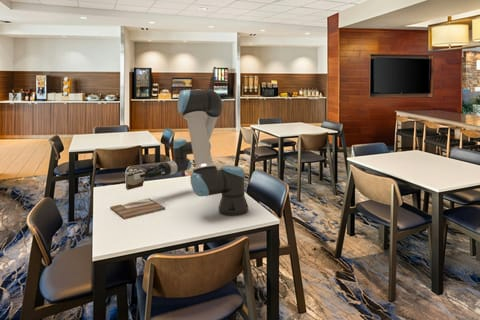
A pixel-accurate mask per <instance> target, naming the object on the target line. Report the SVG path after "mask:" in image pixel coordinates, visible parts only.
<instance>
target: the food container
mask: <svg viewBox="0 0 480 320" xmlns="http://www.w3.org/2000/svg"><path fill="white" fill-rule="evenodd" d="M145 171H146V169H144V168H143V167H140V166H139V167H138V166H132V167H128V168H126V170H125V171H124V177H125V189H126V190H127V191H129V190H134V189H137V188H140V187H141V188H142V187H143V185H144V183H145V178H146V177H145V178H141V179H136V180H134V176H133V175H134V174H139V173H143V172H145ZM145 174H146V173H145Z"/></svg>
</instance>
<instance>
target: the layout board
mask: <svg viewBox="0 0 480 320" xmlns="http://www.w3.org/2000/svg"><path fill="white" fill-rule="evenodd" d="M109 209H110V210H111V211H113V212H114V213H115V214H117V215H118V216H119V217H120V218H122V219H123V220H127V219H131V218H136V217H140V216H144V215H148V214H151V213H152V214H153V213H155V212H159V211H160V212H161V211H164V210H166V206H164V205H162V204H160V203H158V202H157V201H155V200H153V199H151V198H144V199H140V200H134V201H131V202H126V203H121V204H118V205H112V206H110V207H109Z"/></svg>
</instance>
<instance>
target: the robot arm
mask: <svg viewBox="0 0 480 320" xmlns="http://www.w3.org/2000/svg"><path fill="white" fill-rule="evenodd" d="M177 97H178V98H177V110H178V113H179V114H181V115H182V116H183V119H184V120H186V122H187V126H188V132H189V133H188V134H189V138H190V141H187V140H186V138H176V139H173V142H172V143H173V160H169V161H164V162H161V163H160V162H159V164H158V166H154V167H153V166H149V167H145V168H144V169H146V171H145V172H143V173H139V174H134V175H133V176H134V180H136V179H141V178H149V179H150V178H155V177H158V176H162V177H165V176H170V175H172V176H173V174H177V173H182V172H183V173H184V172H187V171H189V170H190V169H191V168H192V162H191V159H189V158H188V155H193V160H194V165H195V166H194V168H193V170H192V173H191V174H190V176H189V177H190V185H191V188H192V191H193V193H194V194H195V195H196V196H197V197H208V196H213V195H219V194H221V198H220V202H219V205H218V212H219V214H221V215H224V216H241V215H244V214H247V213H248V212H249V205H248V203H247V202H248V201H247V199H246V196H245V178H246V177H245V170H244V169H243V168H242V167H241V166H236V165H221V166H220V169H218V168H217V165H216V164H214V163H213V160H212V154H211V153H212V152H211V146H212V145H211V142H210V140H211V137H212V134H213V131H214V129H215V127H216V126H215V125H216V123H217V120H218V118H219V117H221V116H222V112H223V109H224V105H223V104H224V103H223V99H222V97H221V96H220V95H219V93H217V92H216V91H215V90H213V89H209V88H207V89H206V88H205V89H184V90H181V91H180V92H179V94H178V96H177ZM145 173H146V174H145Z"/></svg>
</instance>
